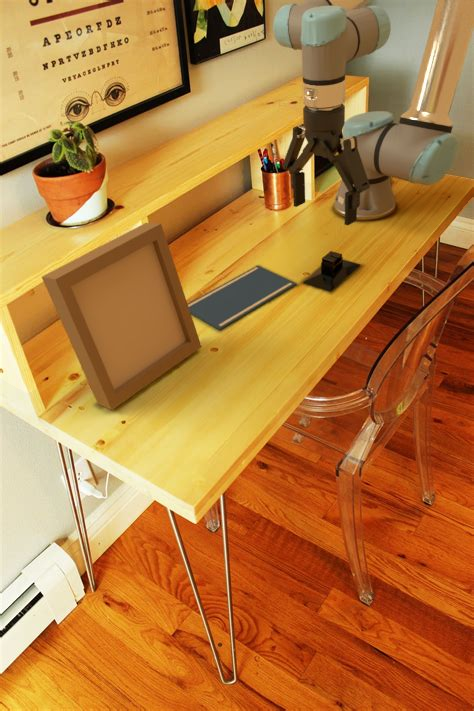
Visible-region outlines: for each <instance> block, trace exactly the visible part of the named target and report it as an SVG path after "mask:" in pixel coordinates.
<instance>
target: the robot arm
mask: <svg viewBox="0 0 474 711" xmlns="http://www.w3.org/2000/svg"><path fill="white" fill-rule="evenodd" d="M371 1H372V0H305V1H304V2H302V3H300V4H297V3H292V4H284V5H282V6H281V7H280V8H278V10H277V12H276V14H275V16H274V20H273V28H272V31H273V36H274V38H275V40H276V42H277V43H278V44H279V45H280V46H281V47H282V48H283V47H284V48H288V49H293V50H294V51H297V50H299V51H301V64H302V65H301V67H302V103H303V105H304V107H303V108H302V121H303V122H302V123H301V124H298V125H295V126H294V127H293V128H292V138H291V141H290V143H289V146H288V148H287V152H286V154H285V156H284V160H283V163H282V165H281V167H282V169H283V170H284V171H285V170H287V171H288V173H289V175H290V187H291V189H292V195H293V196H292V198H293V207H295V208H297V207H300V206H302V205H304V204H305V203H306V178H305V177H306V173H305V172H304V171H303V170H304V167H305V166H306V165H307V164H308V162H309V161H310V160H311V158H312V157H313V156H316V157H319V156H320V157H322V158H324V159H328V160H329V162H330V163H331V164H333V166H334V167H335V170H336V171H337V174H338V175H339V177H340V178H341V180H340V184H339V186H338V188H337V192H336V195H335V198H334V204H333V205H334V206H333V207H334V211H335V213H336V214H337V215H339V216H341V217H343V218H344V225H345V226H350V225H351V224H353V223H356V222H357V221H375V220H379V219H383V218H386V217H388V216H390V215H392V213H394V211H395V209H396V197H395V194H394V190H393V186H392V182H391V178H394V179H398V180H402V181H405V182H410V183H411V184H412V185H413V184H415V185H416V184H417V185H423V186H432V185H434V184H436V183H438V182H440V181H441V180H442V179H443V178H444V176H446V174H447V173H448V172H449V170H450V168H451V166H452V164H453V163H454V160H455V158H456V154H457V151H458V146H457V145H458V139H457V137H456V136H455V135H454V134H453V133H452V131H453V128H454V124H453V122H452V120H451V118H450V112H451V108H452V107H453V106H452V105H453V103H454V102H453V101H454V98H455V94H456V92H457V87H458V84H459V81H460V77H461V73H462V70H463V68H464V64H465V60H466V55H467V53H468V52H467V51H468V49H469V45H470V42H471V38H472V35H473V31H474V0H437V2H436V6H435V9H434V13H433V18H432V22H431V24H430V28H429V33H428V38H427V41H426V45H425V48H424V51H423V56H422V60H421V64H420V67H419V71H418V75H417V79H416V83H415V87H414V91H413V93H412V94H413V95H412V98H411V102H410V106H409V109H407V111H405V112H404V113H402V114H401V115H400V117H399V121H398V123H395V118H394V114H393V113H392V112H390V111H386V110H381V111H380V110H377V111H367V112H362V113H358V114H355V115H353V116H350V117H349V118H348V119H345V118H346V117H345V116H346V106H345V105H344V103H345V102H346V67H347V66H346V64H347V63H348V62H351V61H353V60H355V59H359V58H362V57H364V56H366V55H371V54H373V53H375V52H376V51H378V50H379V49H382V48H383V47H384V46H385V45H386V43H387V42H388V41H389V38H390V35H391V30H392V29H391V19H390V17H389V15H388V13H387V11H386V10H385V9H384V8H382V7H381V6H378V5H369V6H367V4H369V3H370V2H371ZM305 140H306V142H307V143H306V145H305V146H304V147H303V144H304V141H305ZM302 147H303V149H302ZM301 149H302V152H301ZM300 152H301V153H300ZM337 153H338V154H337ZM336 154H337V155H336Z"/></svg>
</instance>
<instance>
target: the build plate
mask: <svg viewBox="0 0 474 711" xmlns="http://www.w3.org/2000/svg"><path fill="white" fill-rule="evenodd" d="M360 267H361V264H359V263H356V262H352V261H349V260H347V259H346V260H345V259H344V257H343V253H339V252H336V251H332V250H330V251H328V253H326V254H325V255H324V256H323V257H322V258H321V262H320V267H319V268H318V269H316V270H315V271H314V272H313V273H312V274H310V275H309V276H308V277H307V278H306V279H304V280H303V281H302V283H303V284H304V285H307V286H310V287H313V288H316V289H319V290H322V291H326V292H328V293H332V292H333V291H334V290H336V288H337V287H338V286H340V285H341V284H342V283H343V282H344V281H345V280H346V279H348V278H349V277H350V276H351V275H352V274H353V273H354V272H355V271H356V270H357V269H359V268H360Z"/></svg>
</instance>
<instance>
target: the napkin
mask: <svg viewBox="0 0 474 711" xmlns="http://www.w3.org/2000/svg"><path fill="white" fill-rule="evenodd" d="M295 286H297V282H294V281H293V280H290V279H288V278H286V277H283V276H281V275H279V274H277V273H275V272H273V271H271V270H268V269H267V268H265V267H262V266H260V265H256V266H254V267H252V268H250V269H248V270H247V271H245V272H243V273H241V274H239V275H238V276H235V277H234V278H232V279H230V280H229V281H227V282H225V283H223V284H221V285H220V286H217V287H216V288H214V289H212V290H211V291H208V292H207V293H205V294H203V295H200V297H197V298H196V299H194V300H193V301H190V302H189V303H187V304H188V307H189V310H190V313H191V316H194V317H195V318H197V319H199V320H201V321H202V322H204V323H206V324H207V325H209V326H211V327H213V328H214V329H216V330H218V331H222V330H224V329H225V328H226V327H229V326H230V325H232V324H234V323H235V322H237V321H238V320H240V319H242V318H243V317H245V316H246V315H249V314H250V313H251V312H253V311H255V310H256V309H258V308H260V307H261V306H263V305H265V304H267V303H269V302H270V301H272V300H273V299H275V298H277V297H278V296H280V295H282V294H284V293H285V292H287V291H289V290H291V289H292V288H293V287H295Z"/></svg>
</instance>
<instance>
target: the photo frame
mask: <svg viewBox="0 0 474 711" xmlns="http://www.w3.org/2000/svg"><path fill="white" fill-rule="evenodd" d="M167 240H168V239H167V237H166V234H165V231H164V229H163V226H162V223H157V222H145V223H143V224H141V225H139V226H137V227H134V228H133V229H131V230H129V231H127V232H125V233H123V234H122V235H120V236H119V235H118V237H116V238H114V239H112V240H110V241H108V242H106V243H104V244H102V245H100V246H98V247H97V248H94V249H93V250H90V251H88V252H86V253H85V254H83V255H81V256H79V257H77V258H75V259H73V260H71V261H70V262H67V263H65V264H63V265H62V266H60V267H58V268H56V269H54V270H52V271H50V272H48V273H46V274H44V275H42V276H41V279H42V281H43V283H44V286H45V288H46V290H47V293H48V295H49V297H50V299H51V302H52V304H53V306H54V308H55V311H56V313H57V315H58V317H59V320H60V322H61V324H62V327H63V328H64V329H63V330H64V331H65V333H66V335H67V338H68V340H69V343H70V345H71V346H72V349H73V351H74V353H75V355H76V358H77V360H78V363H79V365H80V367H81V369H82V371H83V374H84V376H85V378H86V380H87V383H88V386H89V387H90V390H91V392H92V394H93V396H94V398H95V400H96V403H97V405H99V406H101V407H103V408H105V409H108V410H110V411H113V410H114V409H116V408H117V407H118V406H120V405H121V404H123V403H124V402H126V401H127V400H128V399H130V398H131V397H133V396H134V395H135V394H137V393H138V392H139V391H141V390H143V389H144V388H145V387H147V386H148V385H149V384H151V383H152V382H154V381H155V380H156V379H159V378H160V377H161V376H162V375H163V374H165V373H166V372H168V371H170V370H171V369H172V368H174V367H175V366H176V365H178V364H179V363H181V362H182V361H184V360H185V359H187V358H188V357H189V356H191V355H192V354H193V353H196V351H198V350H199V349H201V348H202V344H201V341H200V337H199V335H198V332H197V328H196V326H195V322H194V320H193V315H192V314H191V313H190V310H189V307H188V304H189V303H188V301H187V298H186V295H185V292H184V288H183V286H182V283H181V280H180V277H179V274H178V271H177V268H176V265H175V262H174V259H173V256H172V253H171V250H170V247H169V242H168V241H167Z"/></svg>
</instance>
